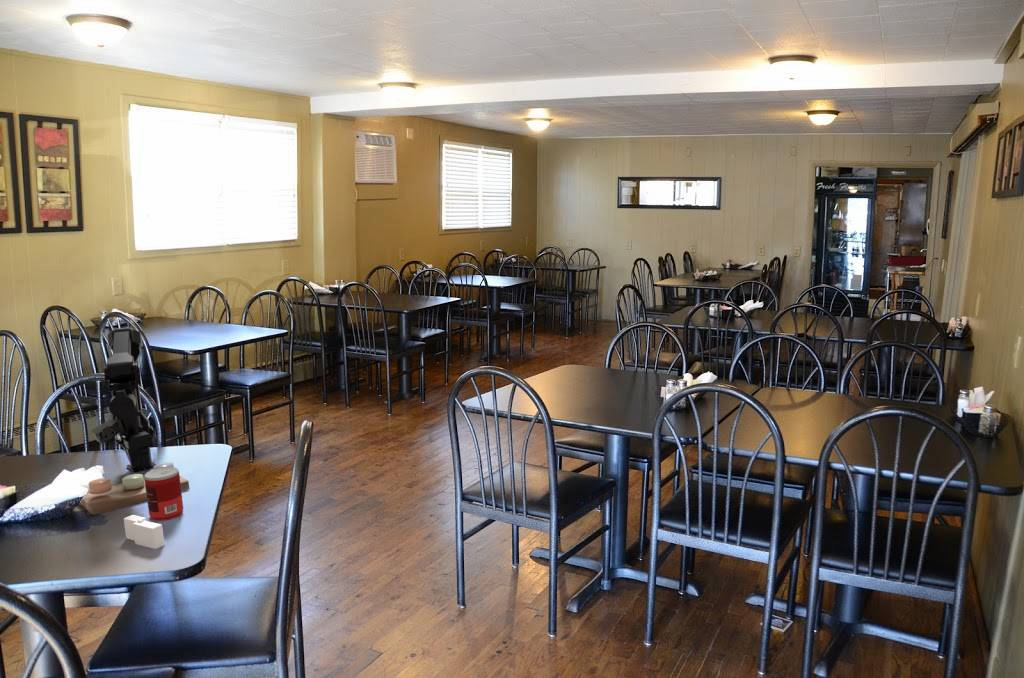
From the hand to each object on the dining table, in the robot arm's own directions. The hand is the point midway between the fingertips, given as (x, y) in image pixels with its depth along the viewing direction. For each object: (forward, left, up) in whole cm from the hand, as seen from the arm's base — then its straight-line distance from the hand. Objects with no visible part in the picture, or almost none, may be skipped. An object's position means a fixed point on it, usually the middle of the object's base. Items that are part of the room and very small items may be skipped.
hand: (133, 465), depth 212 cm
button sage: (0, -1, -6) cm, 6 cm away
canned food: (+20, 0, -8) cm, 22 cm away
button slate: (0, +7, -5) cm, 9 cm away
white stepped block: (+32, -8, -9) cm, 34 cm away
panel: (0, -1, -8) cm, 8 cm away
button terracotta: (0, -9, -5) cm, 10 cm away
